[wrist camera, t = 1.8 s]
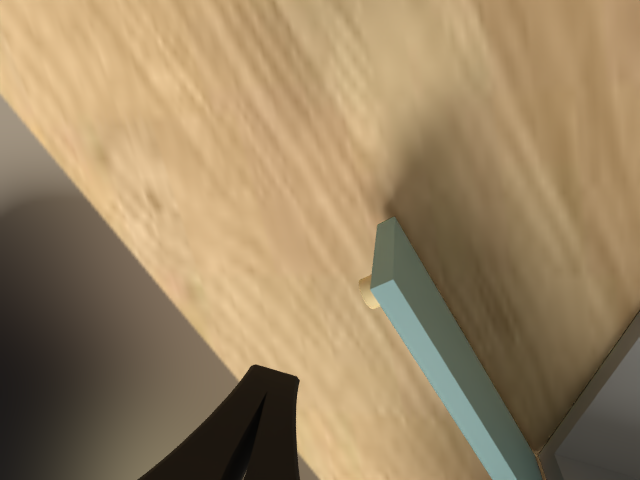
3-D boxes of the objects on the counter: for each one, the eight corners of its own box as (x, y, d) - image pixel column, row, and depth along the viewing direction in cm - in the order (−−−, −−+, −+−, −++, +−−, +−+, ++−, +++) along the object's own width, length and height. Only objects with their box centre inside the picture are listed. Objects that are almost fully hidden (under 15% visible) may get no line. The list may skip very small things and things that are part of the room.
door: (537, 460, 22) (576, 575, 17) (501, 468, 22) (528, 581, 18) (394, 215, 17) (393, 280, 13) (354, 235, 18) (339, 303, 13)
